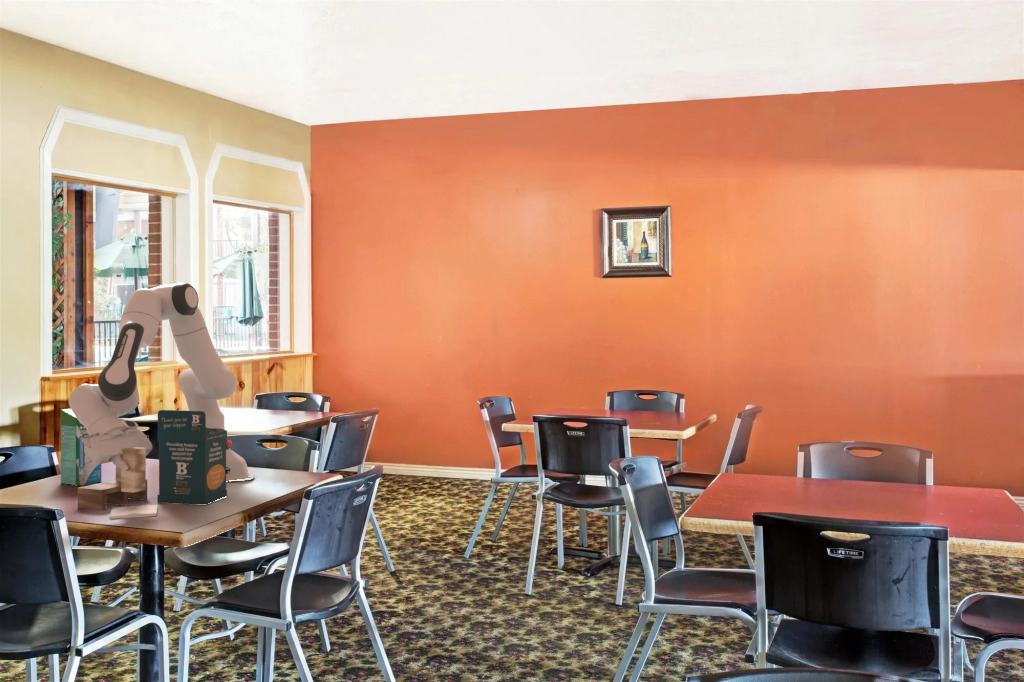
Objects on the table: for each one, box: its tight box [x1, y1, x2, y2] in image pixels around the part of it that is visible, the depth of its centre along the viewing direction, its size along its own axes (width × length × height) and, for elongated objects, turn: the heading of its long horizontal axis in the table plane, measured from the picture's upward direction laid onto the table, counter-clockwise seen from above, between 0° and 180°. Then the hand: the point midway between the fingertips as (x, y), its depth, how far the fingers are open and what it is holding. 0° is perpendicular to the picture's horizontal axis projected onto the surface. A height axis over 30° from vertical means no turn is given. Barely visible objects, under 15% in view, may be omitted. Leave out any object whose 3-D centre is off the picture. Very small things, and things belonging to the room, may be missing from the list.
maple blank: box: [121, 447, 147, 493], centre depth 250 cm, size 4×4×12 cm
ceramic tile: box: [109, 504, 159, 520], centre depth 251 cm, size 12×12×1 cm
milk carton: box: [60, 408, 102, 486], centre depth 297 cm, size 9×9×25 cm
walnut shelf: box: [77, 479, 148, 512], centre depth 264 cm, size 18×9×6 cm, turn 161°
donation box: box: [157, 409, 228, 505], centre depth 271 cm, size 16×16×28 cm
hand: (135, 468), depth 250 cm, fingers closed on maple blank, 4 cm apart
